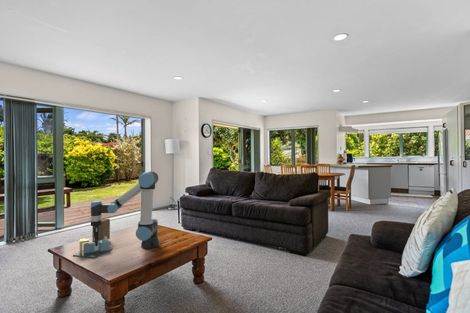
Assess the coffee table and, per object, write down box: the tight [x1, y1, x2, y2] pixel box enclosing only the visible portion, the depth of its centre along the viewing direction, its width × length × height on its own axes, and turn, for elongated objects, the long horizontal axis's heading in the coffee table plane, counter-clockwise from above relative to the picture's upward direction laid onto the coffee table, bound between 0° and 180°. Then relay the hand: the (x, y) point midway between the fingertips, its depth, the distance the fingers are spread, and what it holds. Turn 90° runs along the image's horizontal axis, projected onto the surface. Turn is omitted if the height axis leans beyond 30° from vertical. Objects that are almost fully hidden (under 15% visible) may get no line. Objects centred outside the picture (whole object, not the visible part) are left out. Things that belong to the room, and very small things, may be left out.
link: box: [82, 239, 111, 254], centre depth 198 cm, size 18×7×7 cm, turn 122°
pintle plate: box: [72, 237, 113, 259], centre depth 197 cm, size 20×20×11 cm
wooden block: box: [91, 218, 111, 242], centre depth 221 cm, size 10×10×20 cm
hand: (95, 247), depth 198 cm, fingers open, 11 cm apart
